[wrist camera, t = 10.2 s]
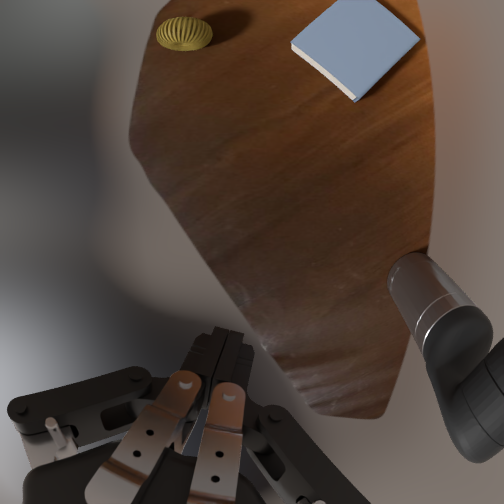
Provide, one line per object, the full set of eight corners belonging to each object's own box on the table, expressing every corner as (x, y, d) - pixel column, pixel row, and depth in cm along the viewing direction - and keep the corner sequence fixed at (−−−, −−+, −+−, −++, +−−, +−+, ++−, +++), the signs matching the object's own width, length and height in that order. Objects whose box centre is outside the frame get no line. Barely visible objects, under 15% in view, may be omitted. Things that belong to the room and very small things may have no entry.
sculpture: (220, 30, 35) (205, 10, 27) (216, 53, 36) (200, 35, 29) (171, 33, 35) (149, 16, 28) (167, 55, 37) (144, 41, 29)
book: (291, 49, 35) (352, -5, 30) (354, 102, 36) (412, 45, 31) (290, 41, 32) (356, -14, 26) (359, 99, 33) (420, 39, 28)
